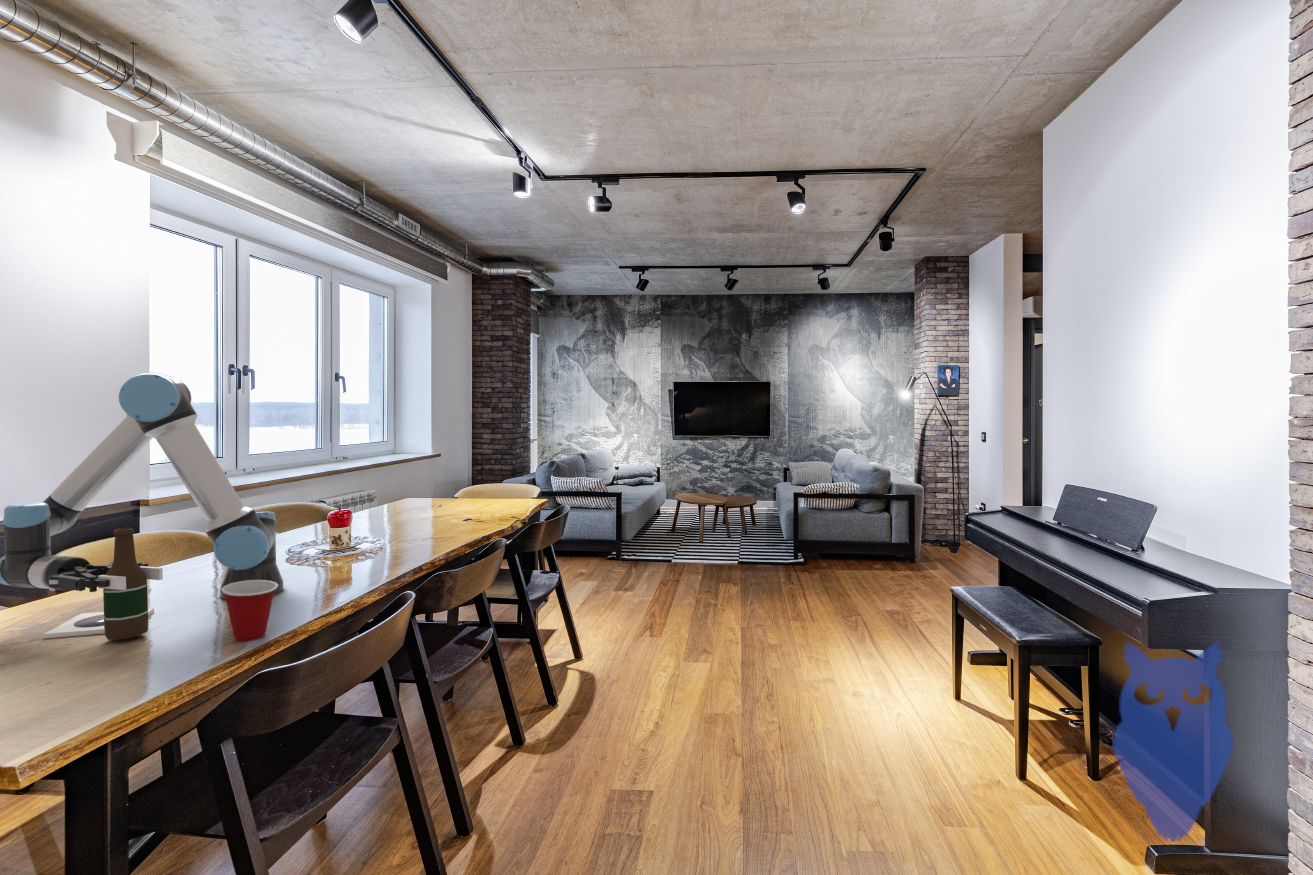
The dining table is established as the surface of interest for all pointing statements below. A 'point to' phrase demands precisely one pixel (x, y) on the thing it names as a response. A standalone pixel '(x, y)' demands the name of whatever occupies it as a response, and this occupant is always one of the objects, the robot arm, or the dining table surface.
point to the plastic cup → (249, 607)
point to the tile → (82, 625)
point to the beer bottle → (126, 592)
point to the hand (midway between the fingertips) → (143, 578)
